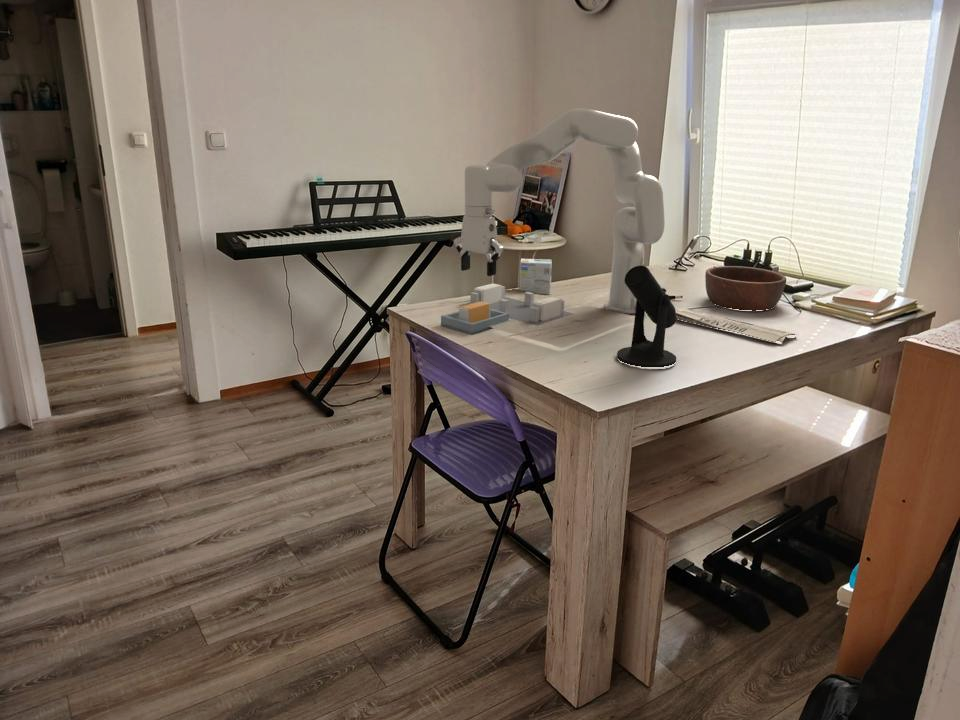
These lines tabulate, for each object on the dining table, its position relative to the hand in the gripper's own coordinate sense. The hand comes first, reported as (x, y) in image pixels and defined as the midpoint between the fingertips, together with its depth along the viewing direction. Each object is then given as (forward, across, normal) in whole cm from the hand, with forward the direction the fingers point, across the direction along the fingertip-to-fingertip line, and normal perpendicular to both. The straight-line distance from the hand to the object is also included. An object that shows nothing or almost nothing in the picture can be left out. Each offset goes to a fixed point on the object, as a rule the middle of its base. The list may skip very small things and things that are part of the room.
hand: (478, 272), depth 217 cm
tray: (+15, 0, +1) cm, 15 cm away
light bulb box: (+17, +12, -43) cm, 48 cm away
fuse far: (+15, +12, -18) cm, 26 cm away
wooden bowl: (+18, -45, -80) cm, 93 cm away
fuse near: (+15, -11, -18) cm, 26 cm away
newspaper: (+18, -54, -50) cm, 75 cm away
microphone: (+16, -51, -7) cm, 54 cm away
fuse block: (+16, 0, -18) cm, 24 cm away
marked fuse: (+14, +1, +1) cm, 15 cm away
